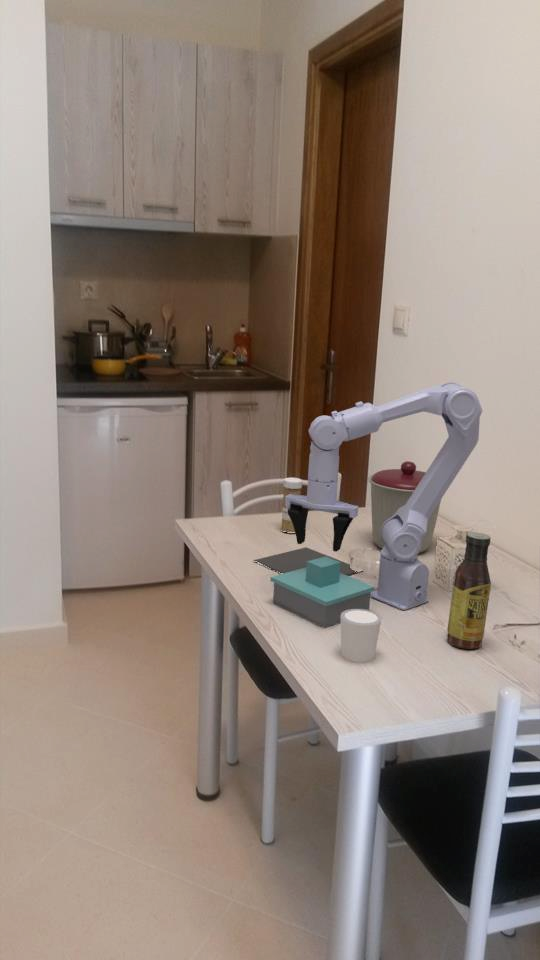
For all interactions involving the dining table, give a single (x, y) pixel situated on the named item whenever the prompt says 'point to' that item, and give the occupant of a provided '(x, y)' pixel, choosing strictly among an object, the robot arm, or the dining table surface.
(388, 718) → the dining table surface
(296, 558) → the mat
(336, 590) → the lid
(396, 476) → the canister
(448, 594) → the dining table surface
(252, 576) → the dining table surface
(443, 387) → the robot arm
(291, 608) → the tub
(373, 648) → the white cup
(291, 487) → the sprinkles bottle
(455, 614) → the sauce bottle
